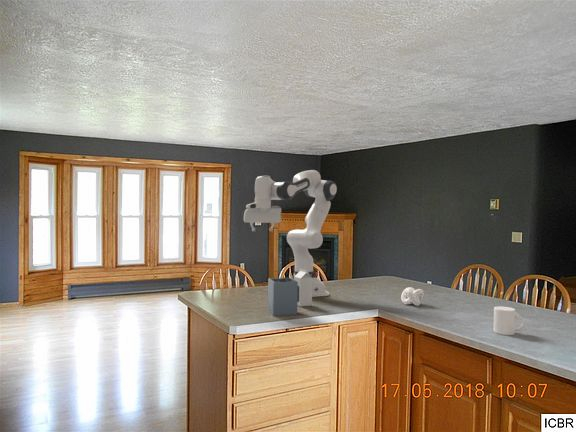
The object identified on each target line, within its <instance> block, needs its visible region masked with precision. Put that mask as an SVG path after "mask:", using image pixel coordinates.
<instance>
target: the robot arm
mask: <svg viewBox="0 0 576 432" xmlns="http://www.w3.org/2000/svg"><path fill="white" fill-rule="evenodd" d="M321 178H322V177H321V174H320V172H319V171H318V170H315V169H310V170H304V171H303V170H302V171H301V172H298V173H296V174H295V175H294V176H293V178H292V181H279V182H276V181H274V180H273V179H272V178H271V176H270V175H259V176H257V177H256V178H255V183H254V195H255V197H254V202H250V203H248V204H246V205H245V210H244V213H243V222H244V223H249V226H250V228H251V232H256V227H254V223H257V224H259V223H261V224H262V223H263V224H265V223H267V224H269V223H270V225H271V227H269V228H268V231H269V232H273V231H274V230H273V228H274V226H275V224H276V223H277V224H278V223H281V222H282V214H281V213H282V208H281V206H280V205H272V201H273V200H274V201H290V200H292V199H293V198H294V197H295V196H296V195H297V194H299V193H300V192H304V194H305V195H306V196H307V197H310V198H315V200H314V202H313V203H312V205H311V207H310V208H309V210H308V212H307V214H306V216H305V218H304V221H305V224H306V227H305V228H304V229H300V228H299V229H297V228H296V229H292V230H290V231H288V233H287V234H286V242H287V244H288V245H289V247H290V248H291V250H292V253H293V256H294V257H293V258H294V271H293V277H294V276H295V275H296V274H297V273H298V272H299V271H300V269H303V270H307V272H308V273H309V275H310V276H311V277H312V298H315V297H316V298H317V297H326V296H327V297H328V296H330V292H329V291H327V290H326V286H325V285H326V284H324V283H323V282H322V281H321V280H320V279H319V278H317V276H319V274H320V273H319V272H317V271H314V258H313V256H312V255H311V254H310V252H309V249H318V248H321V246H322V245H323V240H324V239H323V238H324V237H323V235H322V233H321V231H322V230H321V229H322V226H323V224H324V223H325V220H326V218H327V216H328V214H329V212H330V209H331V204H332V203H331V201H332V200H334V198H335V196H336V194H337V192H338V187H337V184H336V182H335V181H332V180H325V179H321Z"/></svg>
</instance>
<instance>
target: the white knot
mask: <svg viewBox="0 0 576 432" xmlns="http://www.w3.org/2000/svg"><path fill="white" fill-rule="evenodd" d="M424 295H425V293H424V290H423V289H421V288H417V289H415V288H414V287H406V288H405V289H404V290H403V291H402V292H401V296H400V299H401V302H402V303H403V304H404V305H406V306H408V305H411V304H413V305H414V306H415V307H419V306H420V305H421V301H422V299H423V297H424Z"/></svg>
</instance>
